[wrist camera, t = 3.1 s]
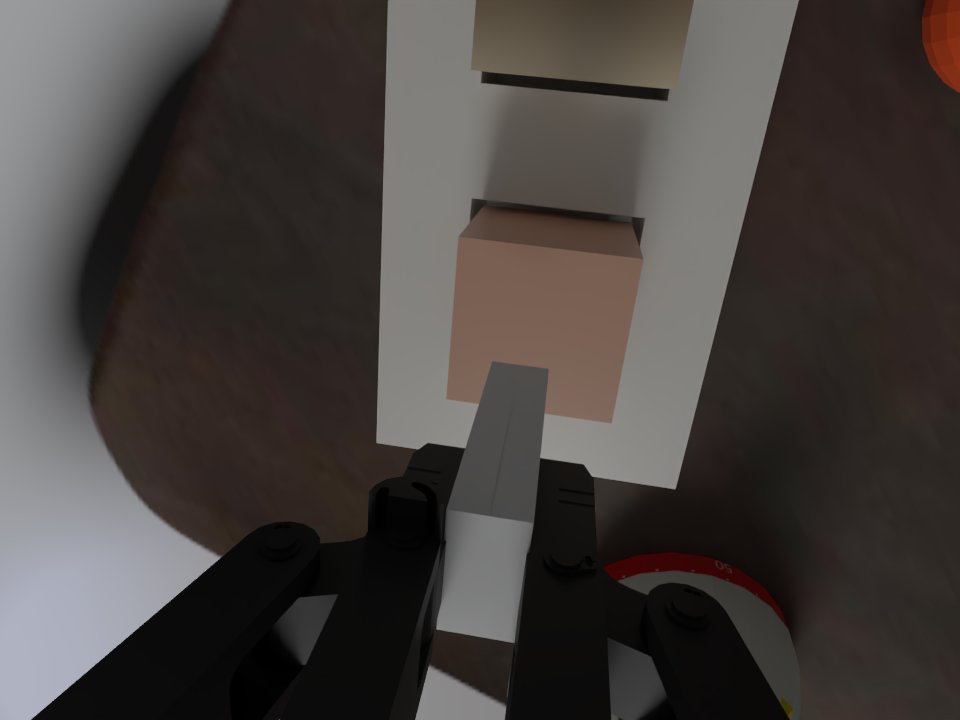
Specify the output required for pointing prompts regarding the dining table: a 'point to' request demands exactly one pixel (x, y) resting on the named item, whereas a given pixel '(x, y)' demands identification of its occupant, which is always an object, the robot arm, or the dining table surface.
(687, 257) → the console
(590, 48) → the beige cube
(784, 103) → the dining table surface
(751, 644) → the kitchen timer
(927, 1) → the clementine
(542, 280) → the pink cube block
